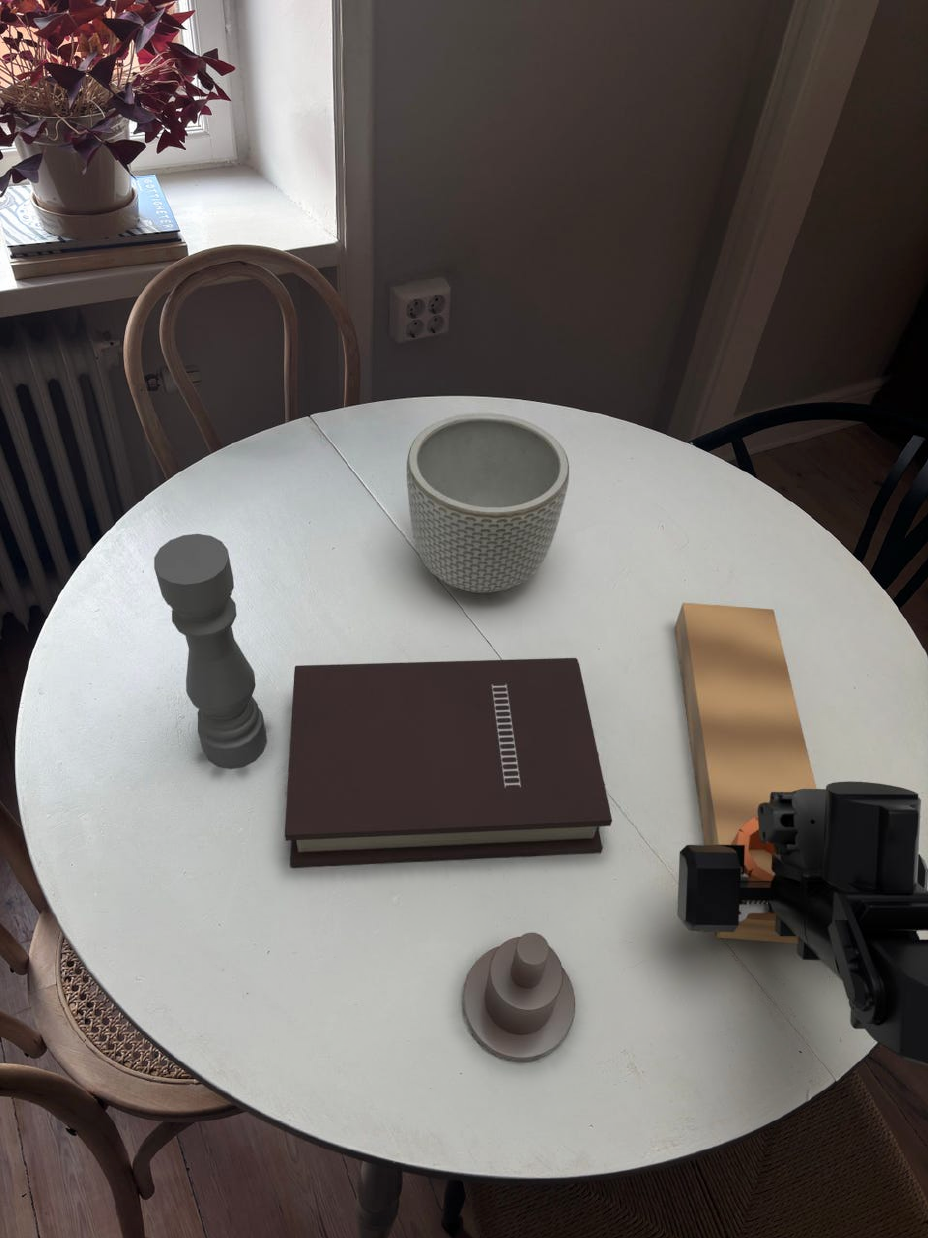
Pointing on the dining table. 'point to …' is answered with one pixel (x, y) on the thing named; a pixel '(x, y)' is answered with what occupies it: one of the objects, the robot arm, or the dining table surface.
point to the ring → (752, 840)
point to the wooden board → (740, 727)
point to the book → (442, 762)
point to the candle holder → (212, 648)
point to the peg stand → (519, 999)
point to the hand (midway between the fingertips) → (760, 855)
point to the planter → (485, 499)
